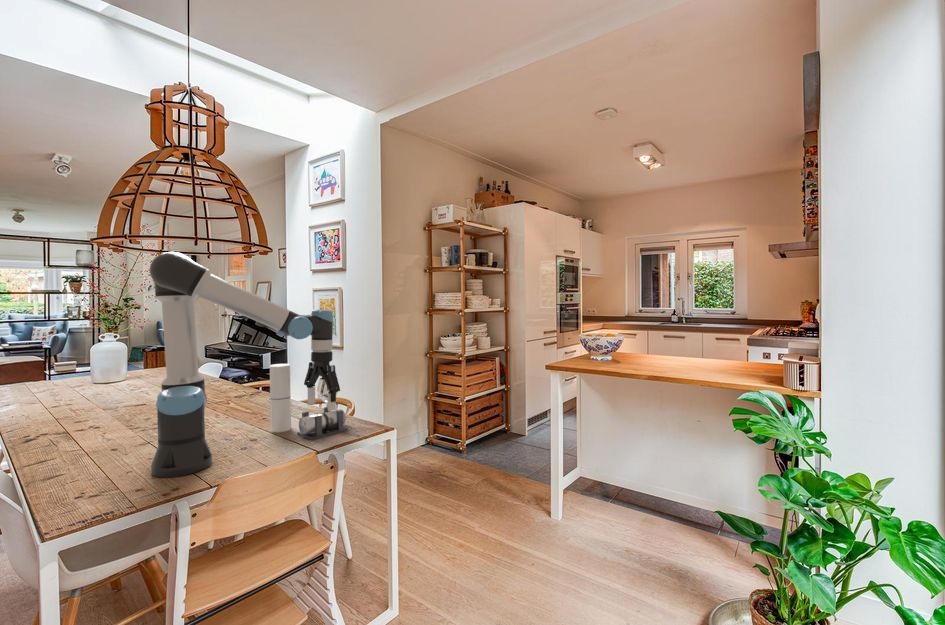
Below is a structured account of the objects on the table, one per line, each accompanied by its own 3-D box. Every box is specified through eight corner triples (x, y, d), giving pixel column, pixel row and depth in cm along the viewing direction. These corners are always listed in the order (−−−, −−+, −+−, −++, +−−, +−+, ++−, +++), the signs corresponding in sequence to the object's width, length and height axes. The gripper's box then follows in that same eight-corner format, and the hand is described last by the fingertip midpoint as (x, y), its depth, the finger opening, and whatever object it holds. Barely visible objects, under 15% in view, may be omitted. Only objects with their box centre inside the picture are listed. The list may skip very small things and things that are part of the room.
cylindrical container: (277, 433, 161) (275, 367, 160) (267, 430, 165) (266, 365, 165) (294, 429, 167) (293, 364, 166) (284, 425, 171) (283, 363, 170)
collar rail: (312, 440, 153) (311, 418, 153) (297, 434, 160) (296, 413, 159) (347, 430, 165) (347, 409, 165) (332, 425, 171) (332, 405, 171)
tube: (337, 424, 170) (336, 408, 171) (346, 425, 167) (345, 409, 167) (299, 433, 158) (298, 416, 158) (308, 435, 154) (307, 417, 154)
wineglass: (321, 426, 170) (320, 380, 170) (314, 421, 177) (313, 378, 176) (341, 422, 176) (340, 378, 175) (333, 418, 182) (332, 375, 181)
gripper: (350, 353, 156) (349, 411, 157) (312, 347, 172) (312, 400, 172) (332, 354, 151) (331, 415, 151) (295, 348, 166) (294, 403, 167)
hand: (321, 407), depth 162 cm, fingers open, 13 cm apart
